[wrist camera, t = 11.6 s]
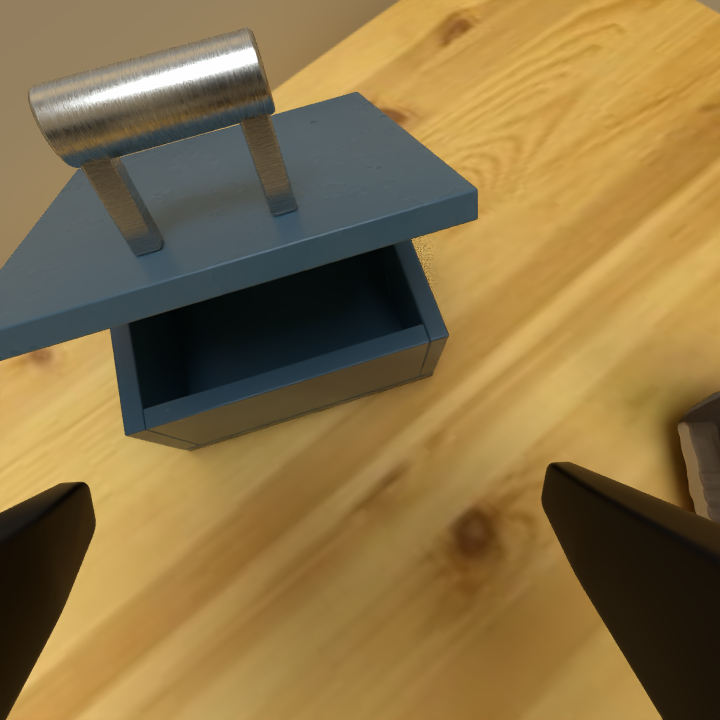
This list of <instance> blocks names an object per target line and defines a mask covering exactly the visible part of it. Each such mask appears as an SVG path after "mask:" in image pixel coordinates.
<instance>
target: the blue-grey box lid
mask: <svg viewBox="0 0 720 720" xmlns="http://www.w3.org/2000/svg"><path fill="white" fill-rule="evenodd" d="M28 100H29V104H30V108H31V111H32V114H33V116H34V118H35V121H36V123H37V125H38V127H39V129H40V130H41V132H42V134H43V136H44V137H45V139H46V140H47V142H48V143H49V145H50V146H51V147H52V149H53V150H54V151H55V153H56V154H57V155H58V156H59V157H60V158H61V159H62V160H63V161H64V162H65V163H67V164H68V165H70V166H72V167H76V168H81V169H78V170H77V171H76V173H75V174H74V175H73V176H72V178H71V179H70V180H69V182H68V183H67V184H66V186H65V187H64V188H63V189H62V191H61V192H60V193H59V195H58V196H57V197H56V198H55V200H54V201H53V202H52V204H51V205H50V206H49V208H48V209H47V210H46V211H45V213H44V214H43V215H42V217H41V218H40V219H39V221H38V222H37V223H36V224H35V226H34V227H33V228H32V230H31V231H30V232H29V234H28V235H27V236H26V237H25V239H24V240H23V241H22V243H21V244H20V245H19V246H18V248H17V249H16V250H15V252H14V253H13V254H12V255H11V257H10V258H9V259H8V261H7V262H6V263H5V265H4V266H3V267H2V269H1V270H0V361H2V360H5V359H9V358H12V357H15V356H19V355H22V354H26V353H29V352H32V351H36V350H39V349H42V348H46V347H49V346H53V345H56V344H59V343H63V342H66V341H69V340H73V339H76V338H79V337H83V336H86V335H90V334H93V333H96V332H100V331H103V330H106V329H110V328H113V327H117V326H120V325H123V324H127V323H130V322H133V321H137V320H140V319H143V318H147V317H150V316H154V315H157V314H160V313H164V312H167V311H170V310H174V309H177V308H181V307H184V306H187V305H191V304H194V303H197V302H201V301H204V300H207V299H211V298H214V297H218V296H221V295H224V294H228V293H231V292H234V291H238V290H241V289H245V288H248V287H251V286H255V285H258V284H261V283H265V282H268V281H272V280H275V279H278V278H282V277H285V276H288V275H292V274H295V273H298V272H302V271H305V270H309V269H312V268H315V267H319V266H322V265H325V264H329V263H332V262H336V261H339V260H342V259H346V258H349V257H352V256H356V255H359V254H362V253H366V252H369V251H373V250H376V249H379V248H383V247H386V246H389V245H393V244H396V243H400V242H403V241H406V240H410V239H413V238H416V237H420V236H423V235H426V234H430V233H433V232H437V231H440V230H443V229H447V228H450V227H453V226H457V225H460V224H464V223H467V222H470V221H474V220H476V219H477V218H478V190H477V188H476V187H475V186H473V185H472V184H471V183H470V182H468V181H467V180H466V179H465V178H463V177H462V176H461V175H460V174H458V173H457V172H456V171H455V170H454V169H452V168H451V167H450V166H449V165H447V164H446V163H445V162H444V161H442V160H441V159H440V158H439V157H437V156H436V155H435V154H434V153H433V152H431V151H430V150H429V149H428V148H426V147H425V146H424V145H423V144H421V143H420V142H419V141H418V140H416V139H415V138H414V137H413V136H412V135H410V134H409V133H408V132H407V131H405V130H404V129H403V128H402V127H400V126H399V125H398V124H397V123H395V122H394V121H393V120H392V119H391V118H389V117H388V116H387V115H386V114H384V113H383V112H382V111H381V110H379V109H378V108H377V107H376V106H374V105H373V104H372V103H371V102H370V101H368V100H367V99H366V98H365V97H363V96H362V95H361V94H360V93H358V92H354V93H350V94H347V95H343V96H340V97H336V98H332V99H329V100H325V101H322V102H318V103H315V104H311V105H307V106H304V107H300V108H297V109H293V110H289V111H286V112H282V113H279V114H275V115H271V114H273V113H274V112H275V106H274V102H273V98H272V94H271V91H270V87H269V83H268V80H267V77H266V73H265V70H264V66H263V63H262V60H261V56H260V53H259V50H258V47H257V43H256V40H255V37H254V34H253V32H252V30H251V29H250V28H244V29H240V30H236V31H233V32H229V33H225V34H221V35H218V36H214V37H210V38H207V39H203V40H199V41H195V42H192V43H188V44H185V45H181V46H177V47H173V48H169V49H166V50H162V51H158V52H155V53H151V54H147V55H143V56H139V57H136V58H133V59H129V60H125V61H121V62H117V63H113V64H110V65H106V66H102V67H99V68H95V69H91V70H87V71H84V72H80V73H77V74H72V75H69V76H65V77H61V78H58V79H54V80H50V81H47V82H43V83H39V84H35V85H33V86H32V87H31V88H30V89H29V91H28ZM270 115H271V116H270ZM239 123H240V124H239ZM235 124H239V125H236V126H232V127H228V126H231V125H235ZM224 127H228V128H225V129H221V128H224ZM217 129H221V130H218V131H214V132H211V133H207V134H203V133H206V132H209V131H213V130H217ZM199 134H203V135H200V136H196V137H193V138H189V139H185V138H188V137H192V136H195V135H199ZM181 139H185V140H182V141H179V142H175V143H171V144H167V145H164V146H161V147H157V148H154V149H150V150H146V151H142V150H145V149H149V148H152V147H156V146H160V145H163V144H166V143H170V142H174V141H177V140H181ZM138 151H142V152H139V153H135V154H132V155H128V156H125V157H121V158H120V156H124V155H127V154H131V153H134V152H138Z"/></svg>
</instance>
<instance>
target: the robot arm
mask: <svg viewBox="0 0 720 720" xmlns="http://www.w3.org/2000/svg"><path fill="white" fill-rule="evenodd" d="M541 501H542V506H543V509H544V511H545V513H546V515H547V517H548V520H549V522H550V524H551V526H552V528H553V530H554V532H555V534H556V536H557V538H558V540H559V542H560V544H561V547H562V549H563V551H564V553H565V555H566V557H567V559H568V561H569V563H570V565H571V567H572V569H573V571H574V573H575V575H576V577H577V578H578V580H579V582H580V584H581V585H582V587H583V589H584V590H585V592H586V594H587V595H588V597H589V599H590V600H591V602H592V604H593V605H594V607H595V608H596V610H597V612H598V613H599V615H600V617H601V618H602V620H603V622H604V623H605V625H606V627H607V628H608V630H609V632H610V633H611V635H612V637H613V638H614V640H615V641H616V643H617V645H618V646H619V648H620V650H621V651H622V653H623V655H624V656H625V658H626V660H627V661H628V663H629V665H630V666H631V668H632V670H633V671H634V673H635V674H636V676H637V678H638V679H639V681H640V683H641V684H642V686H643V688H644V689H645V691H646V693H647V694H648V696H649V698H650V699H651V701H652V703H653V704H654V706H655V707H656V709H657V711H658V712H659V714H660V716H661V717H662V719H663V720H720V524H719V523H717V522H714V521H712V520H709V519H707V518H705V517H702V516H700V515H697V514H695V513H692V512H690V511H687V510H685V509H683V508H680V507H678V506H675V505H673V504H670V503H668V502H666V501H663V500H661V499H658V498H656V497H653V496H651V495H649V494H646V493H644V492H641V491H639V490H636V489H634V488H632V487H629V486H627V485H624V484H622V483H619V482H617V481H615V480H612V479H610V478H607V477H605V476H602V475H600V474H598V473H595V472H593V471H590V470H588V469H585V468H583V467H581V466H578V465H576V464H573V463H571V462H554V463H551V464H549V465H548V467H547V469H546V474H545V480H544V485H543V490H542V497H541ZM95 526H96V519H95V513H94V508H93V503H92V498H91V493H90V489H89V486H88V485H87V484H86V483H84V482H69V483H60V484H58V485H56V486H54V487H52V488H50V489H48V490H46V491H44V492H42V493H40V494H38V495H36V496H34V497H32V498H30V499H28V500H26V501H24V502H21V503H19V504H17V505H15V506H13V507H11V508H9V509H7V510H5V511H3V512H1V513H0V720H6V719H7V717H8V715H9V713H10V711H11V709H12V707H13V705H14V703H15V702H16V700H17V698H18V696H19V694H20V692H21V690H22V688H23V686H24V684H25V682H26V681H27V679H28V677H29V675H30V673H31V671H32V669H33V667H34V665H35V663H36V662H37V660H38V658H39V656H40V654H41V652H42V650H43V648H44V646H45V644H46V642H47V641H48V639H49V637H50V635H51V633H52V631H53V629H54V627H55V625H56V623H57V621H58V619H59V617H60V615H61V613H62V611H63V608H64V606H65V604H66V602H67V599H68V597H69V594H70V592H71V589H72V587H73V584H74V582H75V579H76V577H77V574H78V572H79V569H80V567H81V564H82V562H83V559H84V557H85V554H86V552H87V549H88V547H89V544H90V542H91V539H92V537H93V534H94V531H95Z"/></svg>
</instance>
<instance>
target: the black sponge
mask: <svg viewBox="0 0 720 720" xmlns="http://www.w3.org/2000/svg"><path fill="white" fill-rule="evenodd" d="M678 432H679V436H680V439H681V449H682V453H683V456H684V459H685V463H686V468H687V478H688V481H689V492H690V495H691V497H692V499H693V502H694V508H695V512H696V514H697V515H700V516H702V517H705V518H707V519H709V520H712V521H714V522H717V523H719V524H720V392H717V393H714V394H712V395H711V396H709V397H707V398H706V399H704V400H703V401H701V402H699V403H698V404H696V405H695V406H693V407H692V408H691V409H690V410H688V411H687V412H686V413H685V414H684V415H683V417H682V418H681V420H680V422H679V424H678Z"/></svg>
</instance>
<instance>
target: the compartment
mask: <svg viewBox="0 0 720 720" xmlns="http://www.w3.org/2000/svg"><path fill="white" fill-rule="evenodd" d="M110 332H111V339H112V346H113V353H114V360H115V367H116V374H117V382H118V389H119V396H120V403H121V410H122V417H123V424H124V431H125V435H126V436H129V437H133V438H137V439H141V440H145V441H149V442H154V443H158V444H162V445H166V446H170V447H174V448H179V449H183V450H188V451H193V450H196V449H200V448H203V447H206V446H209V445H212V444H216V443H219V442H222V441H225V440H228V439H232V438H235V437H238V436H241V435H244V434H247V433H251V432H254V431H257V430H260V429H263V428H267V427H270V426H273V425H276V424H279V423H283V422H286V421H289V420H292V419H295V418H299V417H302V416H305V415H308V414H311V413H315V412H318V411H321V410H324V409H327V408H331V407H334V406H337V405H340V404H343V403H347V402H350V401H353V400H356V399H359V398H363V397H366V396H369V395H372V394H375V393H379V392H382V391H385V390H388V389H391V388H395V387H398V386H401V385H404V384H407V383H411V382H414V381H417V380H420V379H423V378H427V377H430V376H432V375H433V373H434V370H435V368H436V365H437V363H438V360H439V358H440V356H441V353H442V351H443V349H444V346H445V344H446V341H447V339H448V337H449V333H448V331H447V328H446V326H445V323H444V321H443V318H442V316H441V313H440V311H439V308H438V306H437V303H436V301H435V298H434V296H433V293H432V291H431V288H430V286H429V283H428V281H427V278H426V276H425V273H424V271H423V268H422V266H421V263H420V261H419V258H418V256H417V253H416V251H415V248H414V246H413V243H412V241H411V239H410V240H406V241H403V242H400V243H396V244H393V245H389V246H386V247H383V248H379V249H376V250H373V251H369V252H366V253H362V254H359V255H356V256H352V257H349V258H346V259H342V260H339V261H336V262H332V263H329V264H325V265H322V266H319V267H315V268H312V269H309V270H305V271H302V272H298V273H295V274H292V275H288V276H285V277H282V278H278V279H275V280H272V281H268V282H265V283H261V284H258V285H255V286H251V287H248V288H245V289H241V290H238V291H234V292H231V293H228V294H224V295H221V296H218V297H214V298H211V299H207V300H204V301H201V302H197V303H194V304H191V305H187V306H184V307H181V308H177V309H174V310H170V311H167V312H164V313H160V314H157V315H154V316H150V317H147V318H143V319H140V320H137V321H133V322H130V323H127V324H123V325H120V326H117V327H113V328H110Z"/></svg>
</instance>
